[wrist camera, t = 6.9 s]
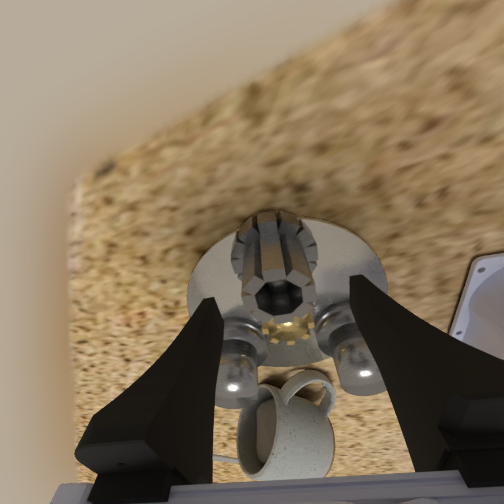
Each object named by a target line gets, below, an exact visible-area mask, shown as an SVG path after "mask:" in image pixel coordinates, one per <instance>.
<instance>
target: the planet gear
mask: <svg viewBox="0 0 504 504" xmlns="http://www.w3.org/2000/svg"><path fill="white" fill-rule="evenodd" d="M316 260H318V249H317V244H316V242H315V239H314V237H313V235H312V232H311V230H310V229H309V228H308V226H307V225H306V224H305V223H304V222H303V221H302V219H301V218H300V219H299V220H298V219H297V217H296V215H293V214H290V213H286V212H283V211H280V212H279V214H278V217H277V219H276V217H275V212H274V210H273V211H268V212H263V213H258V214H257V221H256V219H255V218H254V217H253V216H251V217H250V218H249V219H248V220H247V221H245V222H244V223H243V224H242V225H241V226H240V227H239V231H236V234H235V237H234V241H233V244H232V250H231V264H232V267H233V270H234V273H235V274H238V277H237V278H238V279H239V280H240V281H242V289H241V298H242V301H243V304H244V307H245V311H251V312H250V316H251V317H253V318H256V319H258V320H260V321H262V322H264V323H266V324H267V323H268V322H269V321H270V320H271V319H272V318H273V320H274V324H275V325H276V324H283V323H291V322H294V318H293V315H294V316H296V317H298V318H300V319H302V318H303V317H304V316H305V315H306V314H307V313H308V312H309V311H310V310H311V309H312V308H314V304H313V301H317V297H316V287H315V282H314V279H313V276H312V273H313V271H314V270H315V268H316V266H317V263H316ZM285 279H286V280H288V282H289V285H288V287H287V288H286V289H285V290H284V291H281V292H275V291H272V290H271V289H269V287H268V282H272V281H279V280H285Z"/></svg>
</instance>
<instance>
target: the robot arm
mask: <svg viewBox="0 0 504 504" xmlns="http://www.w3.org/2000/svg"><path fill="white" fill-rule="evenodd" d="M349 305H350V308H351V311H352V314H353V316H354V319H355V322H356V324H357V326H358V328H359V330H360V332H361V334H362V336H363V338H364V340H365V342H366V344H367V346H368V348H369V350H370V352H371V354H372V356H373V358H374V360H375V362H376V364H377V366H378V369H379V371H380V373H381V376H382V378H383V381H384V384H385V386H386V389H387V391H388V394H389V397H390V399H391V402H392V405H393V408H394V410H395V413H396V416H397V419H398V421H399V424H400V427H401V430H402V433H403V436H404V439H405V442H406V445H407V448H408V451H409V454H410V457H411V460H412V463H413V466H414V469H415V473H397V474H378V475H360V476H342V477H324V478H306V479H288V480H270V481H252V482H234V483H216V484H213V479H212V477H213V427H214V408H215V393H216V384H217V377H218V371H219V365H220V359H221V353H222V347H223V340H224V321H223V318H222V315H221V313H220V310H219V308H218V305H217V303H216V300H215V298H214V297H209V298H203V300H202V301H201V303H200V304H199V306H198V307H197V309H196V310H195V312H194V313H193V315H192V316H191V318H190V319H189V321H188V322H187V323H186V325H185V326H184V328H183V329H182V331H181V332H180V333H179V335H178V336H177V337H176V338H175V340H174V341H173V342H172V344H171V345H170V346H169V347H168V349H167V350H166V351H165V352H164V353H163V354H162V355H161V356H160V358H159V359H158V360H157V361H156V362H155V363H154V364H153V365H152V366H151V367H150V368H149V369H148V370H147V371H146V372H145V373H144V374H143V375H142V376H141V377H140V378H139V379H138V380H136V381H135V382H134V383H133V384H132V385H131V386H130V387H129V388H127V389H126V390H125V391H124V392H123V393H121V394H120V395H119V396H118V397H117V398H115V399H114V400H113V401H111V402H110V403H109V404H108V405H106V406H105V407H104V408H102V409H101V410H100V411H98V412H97V413H96V414H94V415H93V417H92V418H91V420H90V422H89V424H88V426H87V428H86V430H85V432H84V434H83V436H82V438H81V440H80V442H79V444H78V446H77V448H76V450H75V453H74V454H75V457H76V459H77V460H78V461H79V462H80V463H81V464H83V465H84V466H86V467H87V468H89V469H90V470H92V471H94V472H95V473H97V474H98V475H97V478H96V480H95V483H94V484H92V483H68V484H61V485H60V486H59V487H58V489H57V491H56V493H55V495H54V497H53V499H52V501H51V503H50V504H504V253H499V254H493V255H487V256H481V257H478V258H476V259H475V260H474V261H473V262H472V265H471V268H470V271H469V274H468V278H467V281H466V284H465V287H464V290H463V293H462V296H461V299H460V302H459V305H458V308H457V311H456V314H455V317H454V321H453V324H452V327H451V330H450V333H449V334H447V333H445V332H443V331H441V330H439V329H437V328H436V327H434V326H432V325H430V324H429V323H427V322H425V321H424V320H422V319H420V318H419V317H417V316H416V315H414V314H413V313H411V312H410V311H408V310H407V309H406V308H404V307H403V306H401V305H400V304H399V303H397V302H396V301H395V300H393V299H392V298H391V297H389V296H388V295H387V294H385V293H384V292H383V291H382V290H380V289H379V288H378V287H377V286H376V285H374V284H373V283H372V282H371V281H370V280H369V279H367V278H366V277H365V276H364V275H362V274H359V275H352V276H349Z"/></svg>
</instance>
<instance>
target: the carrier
mask: <svg viewBox="0 0 504 504" xmlns="http://www.w3.org/2000/svg"><path fill="white" fill-rule="evenodd" d="M296 217H297V219H298V220H299V219H300V218H301V219H302V221H303V222H304V223H305V224H306V225H307V226H308V228H309V229H310V230H311V232H312V235H313V237H314V239H315V242H316V244H317V249H318V260H316V263H317V266H316V268H315V270H314V271H313V273H312V276H313V279H314V282H315V287H316V297H317V301H313V304H314V308H312V309H311V310H310V311H309V312H308V313H307V314H306V315H305V316H304V317H303V318H302V319H300V318H298V317H296V316H294V315H293V318H294V322H291V323H283V324H276V325H275V324H274V320H273V318H272V319H271V320H270V321H269V322H268V323H267V324H266V323H264V322H262V321H260V320H258V319H256V318H253V317H251V316H250V312H251V311H245V307H244V304H243V301H242V298H241V289H242V281H240V280H239V279H238V278H237V277H238V274H235V273H234V270H233V267H232V264H231V250H232V244H233V241H234V237H235V234H236V231H239V228H237V229H235V230H233V231H231V232H229V233H227V234H226V235H224V236H223V237H222V238H220V239H219V240H217V241H216V242H215V243H214V244H213V245H212V246H211V247H210V248H209V249H208V250H207V251H206V252H205V253H204V254H203V255H202V257H201V258H200V259H199V261H198V263H197V264H196V266H195V268H194V270H193V273H192V276H191V279H190V282H189V285H188V290H187V307H188V312H189V315H190V318H191V316H192V315H193V313H194V312H195V310H196V309H197V307H198V306H199V304H200V303H201V301H202V300H203V298H209V297H214V298H215V300H216V303H217V305H218V308H219V310H220V313H221V315H222V318H223V321H224V340H223V347H222V353H221V359H220V365H219V371H218V377H217V384H216V393H215V405H216V406H218V407H221V408H226V409H241V408H245V407H248V406H250V405H252V404H254V403H255V402H256V401H257V399H258V367H259V366H260V365H262V366H271V367H289V366H299V365H305V364H310V363H314V362H318V361H321V360H324V359H327V358H330V357H333V360H334V363H335V367H336V370H337V373H338V377H339V380H340V383H341V386H342V388H343V390H344V391H346V392H347V393H349V394H352V395H357V396H370V395H375V394H379V393H382V392H385V391H387V389H386V386H385V384H384V381H383V378H382V376H381V373H380V371H379V369H378V366H377V364H376V362H375V360H374V358H373V356H372V354H371V352H370V350H369V348H368V346H367V344H366V342H365V340H364V338H363V336H362V334H361V332H360V330H359V328H358V326H357V324H356V322H355V319H354V316H353V314H352V311H351V308H350V305H349V276H352V275H359V274H362V275H364V276H365V277H366V278H367V279H369V280H370V281H371V282H372V283H373V284H374V285H376V286H377V287H378V288H379V289H380V290H382V291H383V292H384V293H385V294H387V279H386V274H385V271H384V269H383V266H382V264H381V262H380V260H379V259H378V257H377V256H376V254H375V253H374V251H373V250H372V249H371V248H370V247H369V246H368V245H367V243H366V242H365V241H364V240H362V239H361V238H360V237H359V236H357V235H356V234H355V233H353V232H352V231H350V230H348V229H346V228H345V227H343V226H340V225H338V224H335V223H333V222H330V221H326V220H322V219H318V218H313V217H304V216H296ZM276 219H277V217H276ZM288 285H289V282H288V280H286V279H285V280H279V281H272V282H268V287H269V289H271V290H272V291H275V292H281V291H284V290H285V289H286V288H287V287H288Z"/></svg>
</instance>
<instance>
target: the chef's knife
mask: <svg viewBox="0 0 504 504" xmlns="http://www.w3.org/2000/svg"><path fill="white" fill-rule="evenodd" d="M213 461H219V462H228V463H239V461H238V459H237V458H232V457H227V456H222V455H217V454H213Z"/></svg>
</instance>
